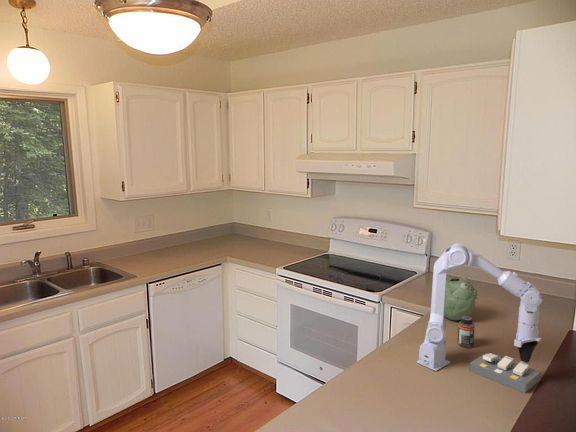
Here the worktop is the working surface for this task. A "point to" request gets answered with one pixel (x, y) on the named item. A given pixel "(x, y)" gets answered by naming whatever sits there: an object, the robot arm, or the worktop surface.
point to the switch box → (505, 374)
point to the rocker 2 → (505, 362)
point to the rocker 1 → (490, 357)
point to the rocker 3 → (521, 368)
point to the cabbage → (459, 298)
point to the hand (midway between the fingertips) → (524, 361)
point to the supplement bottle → (466, 332)
